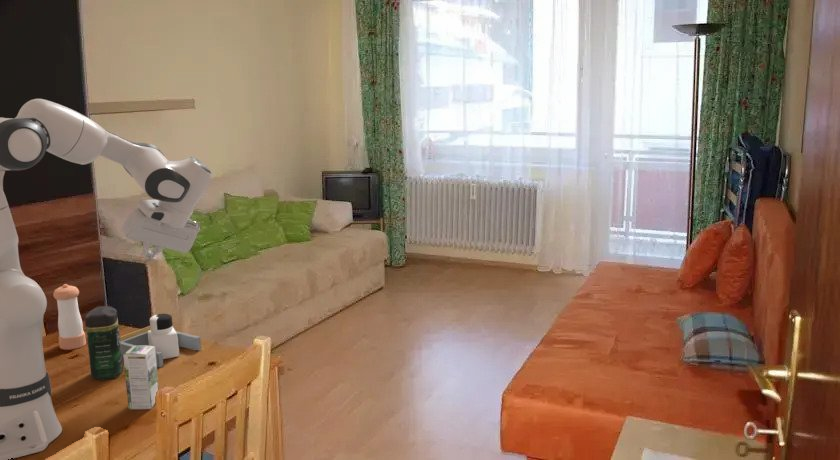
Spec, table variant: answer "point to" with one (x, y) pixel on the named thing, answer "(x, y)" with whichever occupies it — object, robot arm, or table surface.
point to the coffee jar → (104, 343)
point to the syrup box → (141, 376)
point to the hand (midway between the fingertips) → (146, 257)
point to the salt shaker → (69, 318)
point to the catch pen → (142, 339)
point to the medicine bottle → (163, 336)
